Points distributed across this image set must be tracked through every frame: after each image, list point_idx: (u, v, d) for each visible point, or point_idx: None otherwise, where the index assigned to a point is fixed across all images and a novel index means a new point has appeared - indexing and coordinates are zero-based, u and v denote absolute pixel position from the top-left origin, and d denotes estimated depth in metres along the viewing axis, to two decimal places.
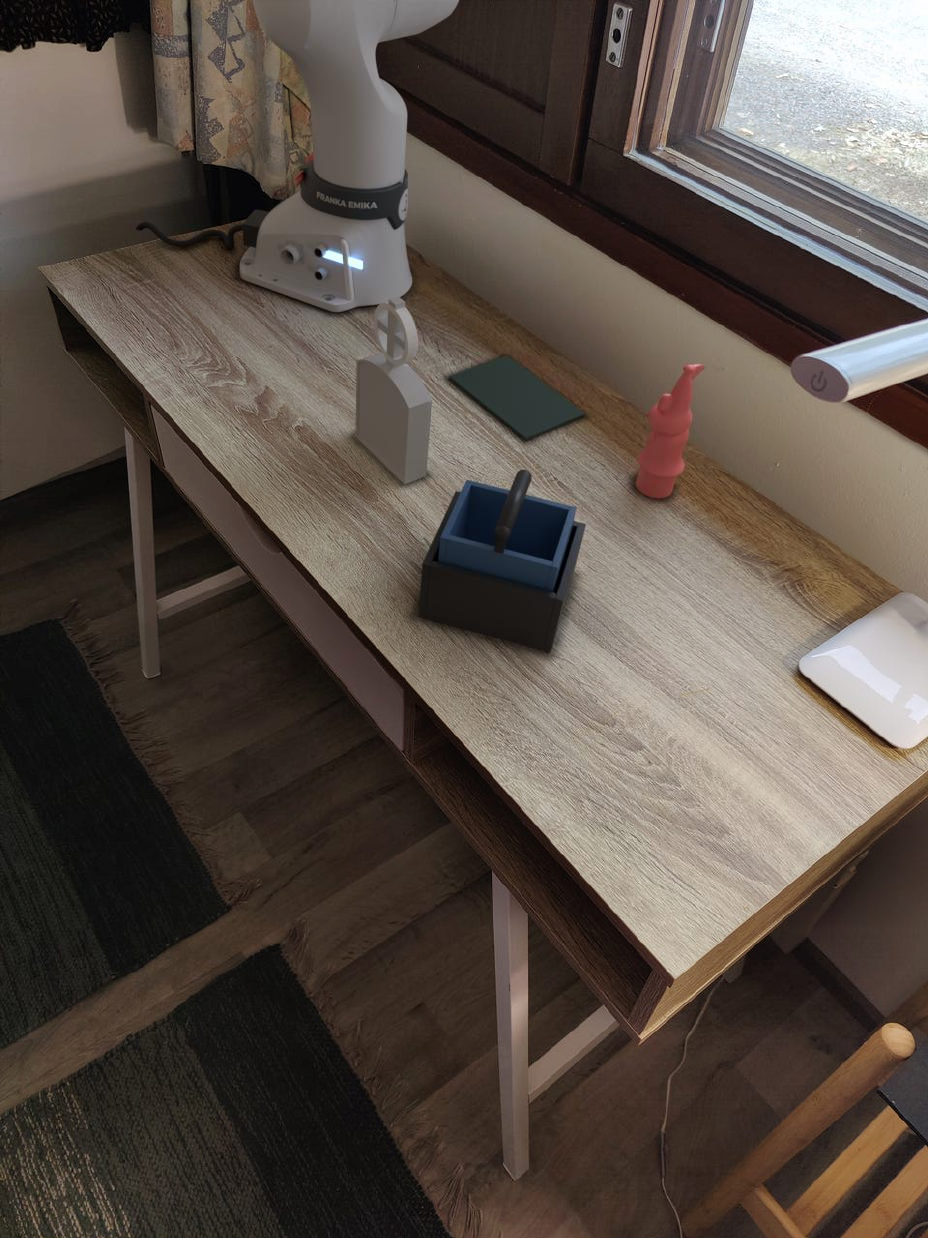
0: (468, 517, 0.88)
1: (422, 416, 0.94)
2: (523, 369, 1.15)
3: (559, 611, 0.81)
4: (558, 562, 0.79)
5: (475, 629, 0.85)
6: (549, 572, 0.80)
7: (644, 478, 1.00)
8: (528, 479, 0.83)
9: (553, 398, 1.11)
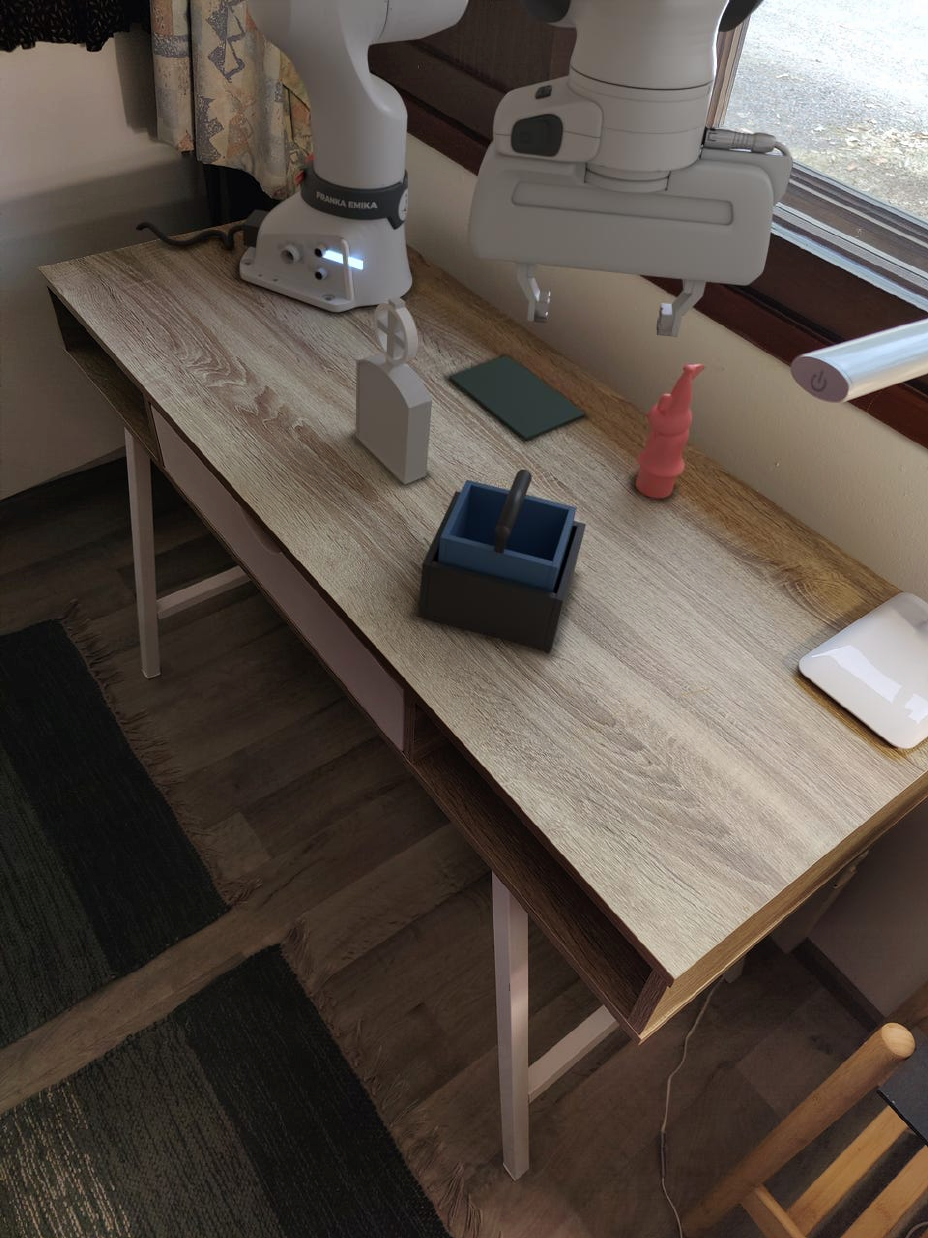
0: (468, 517, 0.88)
1: (422, 416, 0.94)
2: (523, 369, 1.15)
3: (559, 611, 0.81)
4: (558, 562, 0.79)
5: (475, 629, 0.85)
6: (549, 572, 0.80)
7: (644, 478, 1.00)
8: (528, 479, 0.83)
9: (553, 398, 1.11)
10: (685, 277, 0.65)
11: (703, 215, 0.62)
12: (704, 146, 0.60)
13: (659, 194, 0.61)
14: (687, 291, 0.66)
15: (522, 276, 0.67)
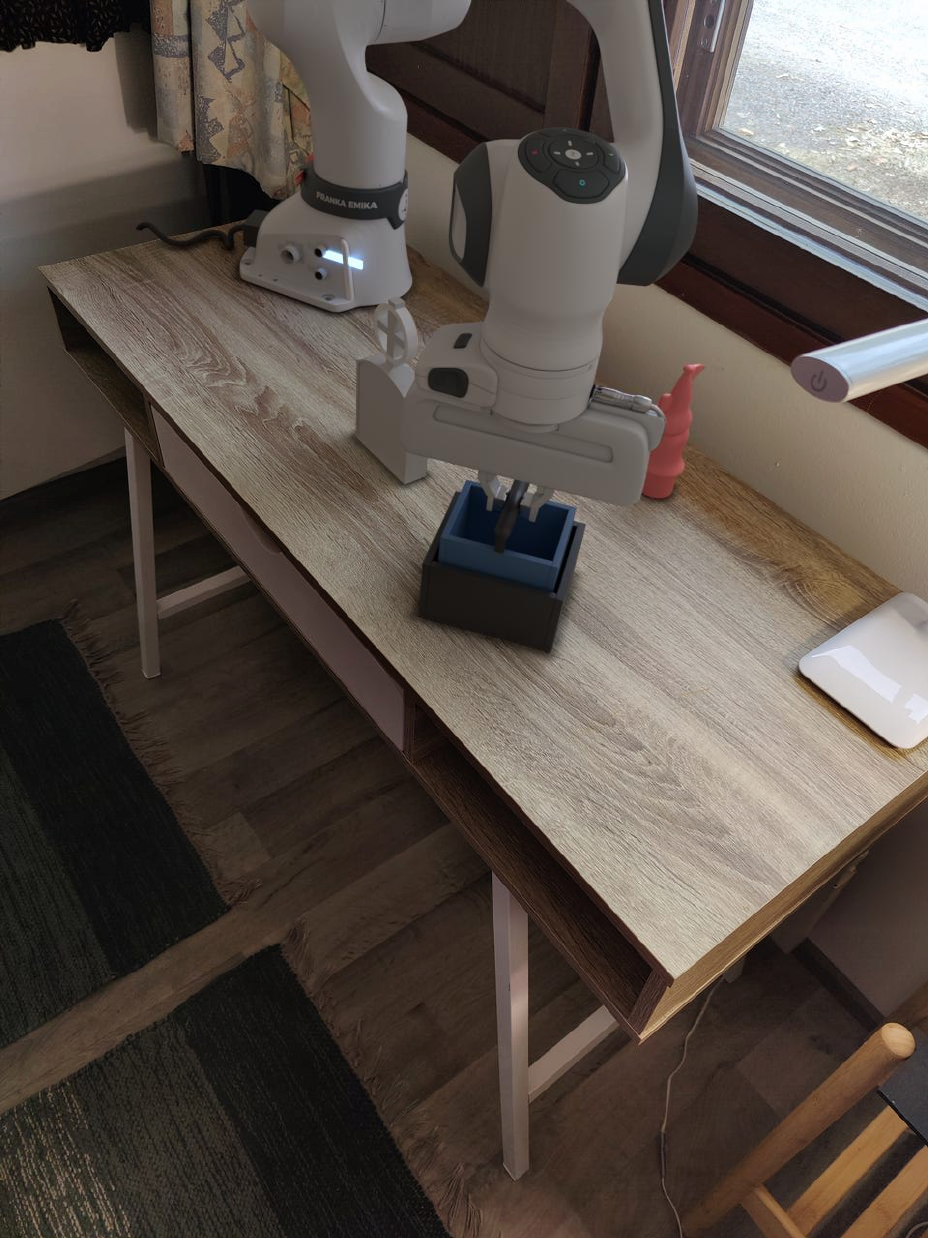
0: (468, 517, 0.88)
1: None
2: None
3: (559, 611, 0.81)
4: (558, 562, 0.79)
5: (475, 629, 0.85)
6: (549, 572, 0.80)
7: None
8: None
9: None
10: (575, 494, 0.76)
11: (589, 452, 0.73)
12: (592, 400, 0.71)
13: (552, 432, 0.73)
14: (540, 492, 0.78)
15: (482, 479, 0.79)
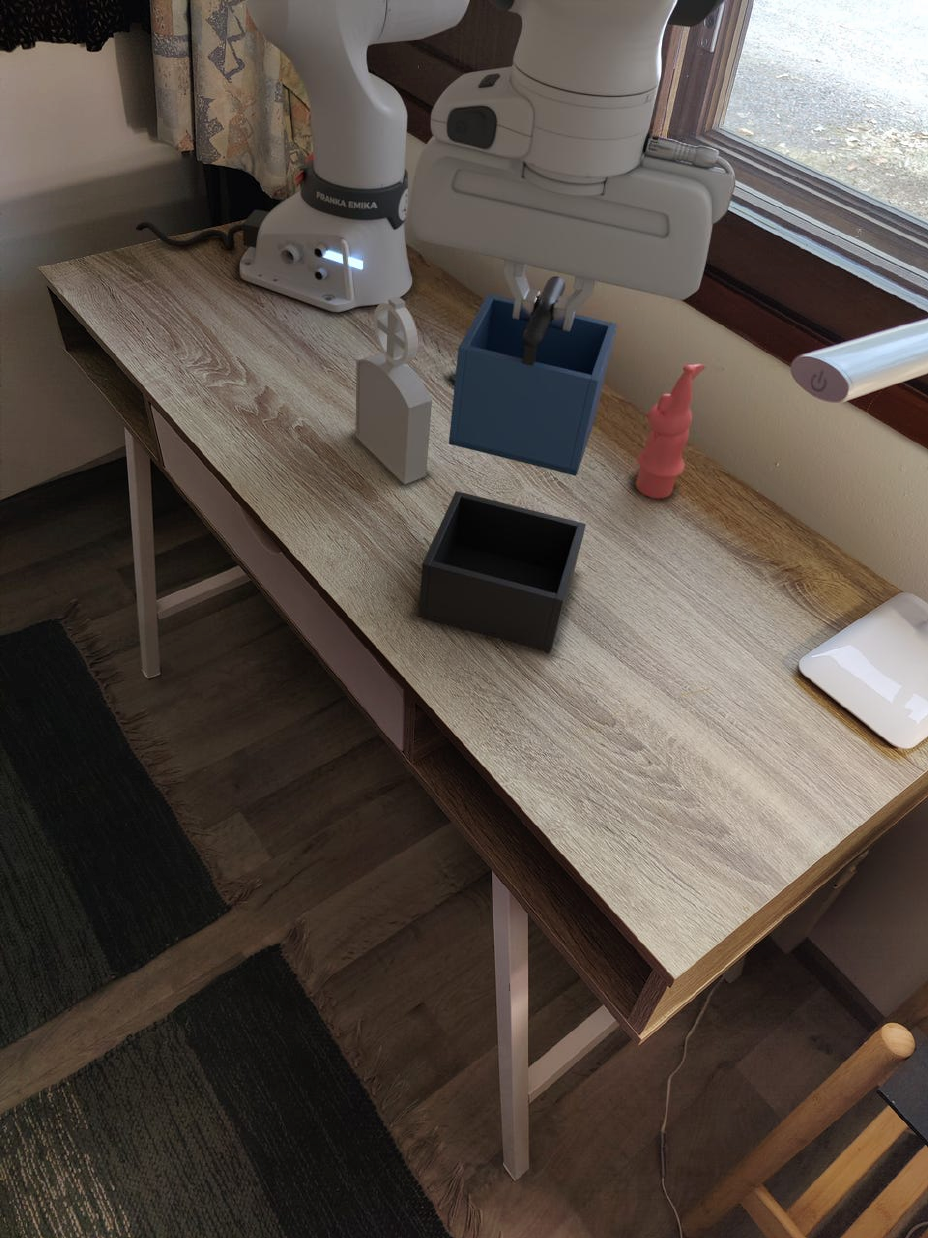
0: (489, 343, 0.76)
1: (422, 416, 0.94)
2: None
3: (559, 611, 0.81)
4: (598, 376, 0.67)
5: (475, 629, 0.85)
6: (587, 388, 0.67)
7: (644, 478, 1.00)
8: (561, 286, 0.70)
9: None
10: (621, 285, 0.64)
11: (640, 225, 0.61)
12: (646, 154, 0.59)
13: (596, 198, 0.60)
14: (577, 288, 0.65)
15: (509, 273, 0.66)
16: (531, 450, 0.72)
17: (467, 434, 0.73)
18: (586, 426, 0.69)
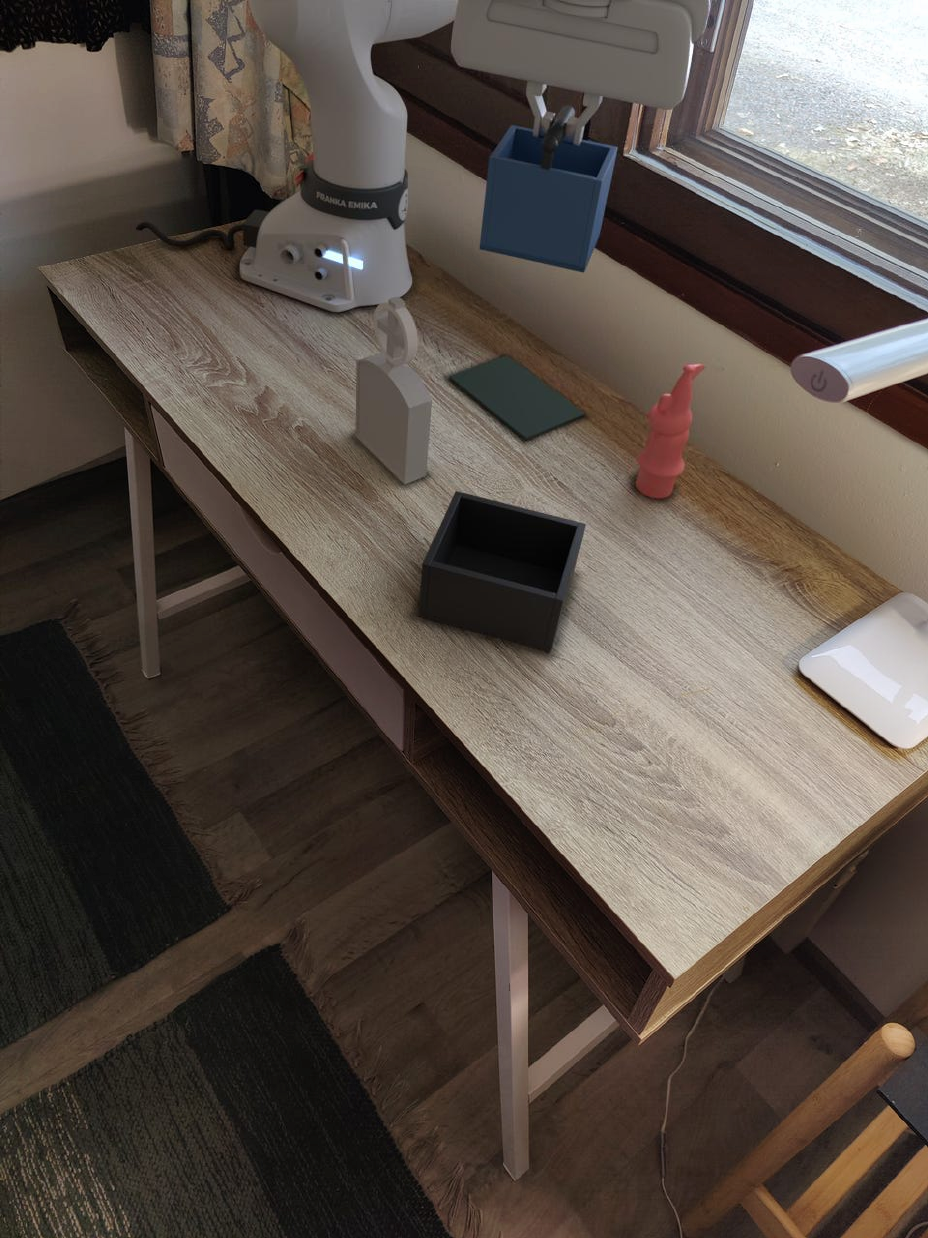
0: None
1: (422, 416, 0.94)
2: (523, 369, 1.15)
3: (559, 611, 0.81)
4: (602, 178, 0.83)
5: (475, 629, 0.85)
6: (593, 188, 0.83)
7: (644, 478, 1.00)
8: (572, 112, 0.86)
9: (553, 398, 1.11)
10: (620, 98, 0.80)
11: (635, 43, 0.77)
12: None
13: (601, 21, 0.76)
14: (585, 104, 0.82)
15: (531, 94, 0.82)
16: (547, 250, 0.88)
17: (495, 238, 0.89)
18: (592, 224, 0.86)
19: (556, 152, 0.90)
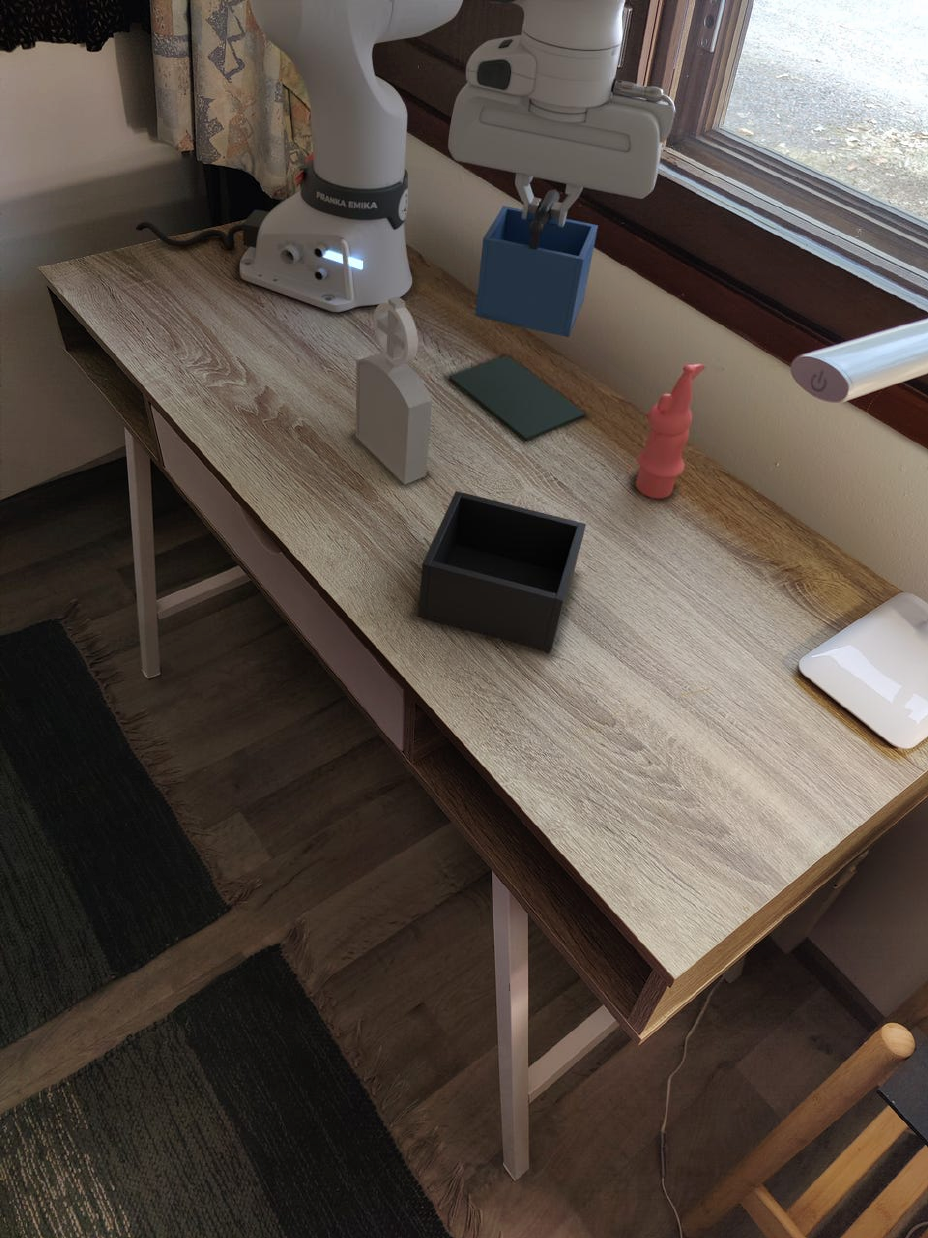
0: None
1: (422, 416, 0.94)
2: (523, 369, 1.15)
3: (559, 611, 0.81)
4: (583, 256, 0.94)
5: (475, 629, 0.85)
6: (576, 265, 0.94)
7: (644, 478, 1.00)
8: (557, 196, 0.97)
9: (553, 398, 1.11)
10: (598, 188, 0.91)
11: (610, 143, 0.88)
12: (613, 93, 0.86)
13: (579, 124, 0.87)
14: (568, 192, 0.92)
15: (519, 184, 0.93)
16: (536, 318, 0.99)
17: (489, 307, 1.00)
18: (575, 296, 0.96)
19: (543, 230, 1.00)
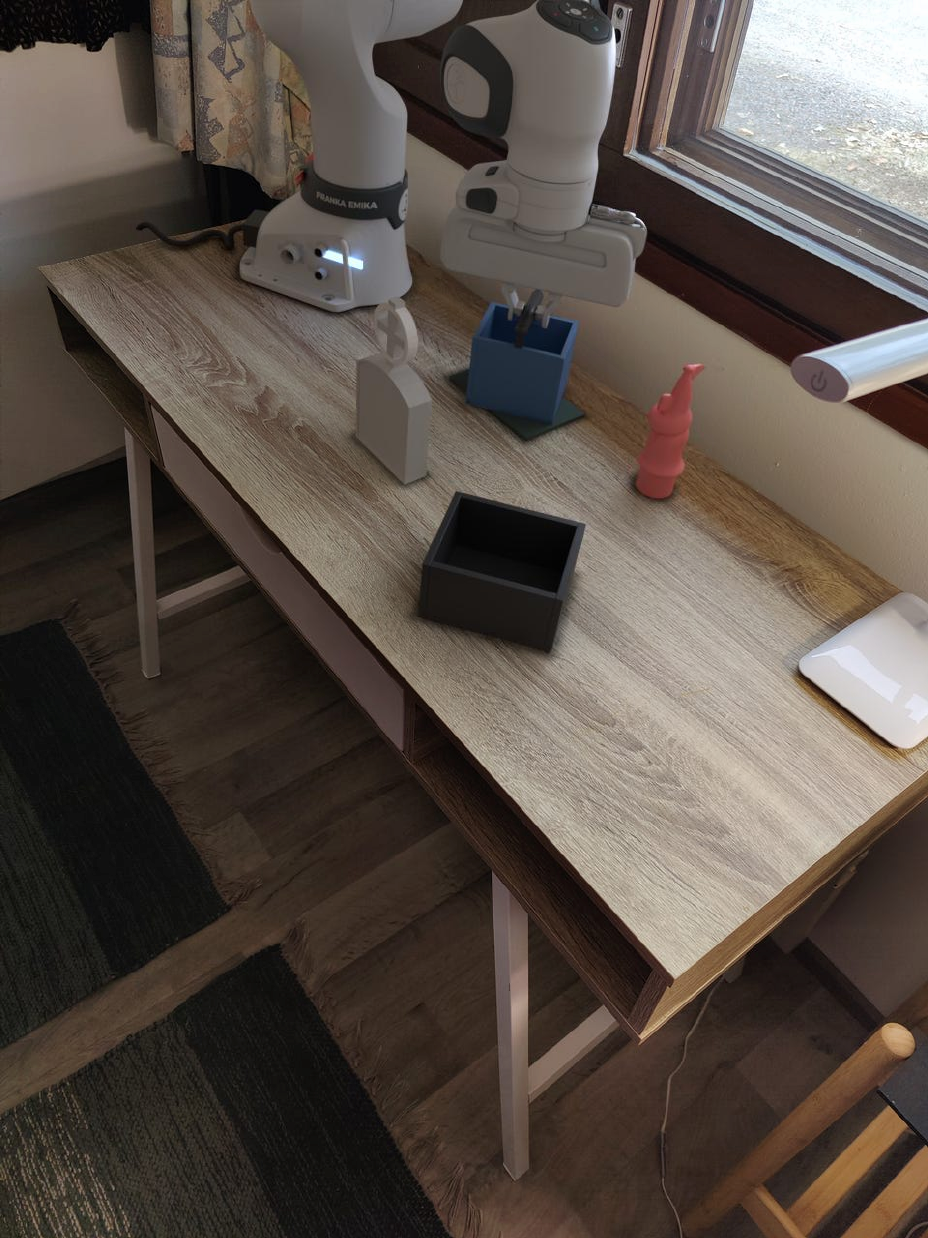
0: (492, 335, 1.10)
1: (422, 416, 0.94)
2: None
3: (559, 611, 0.81)
4: (564, 355, 1.02)
5: (475, 629, 0.85)
6: (557, 363, 1.02)
7: (644, 478, 1.00)
8: (541, 296, 1.05)
9: None
10: (577, 297, 0.99)
11: (588, 259, 0.96)
12: (590, 216, 0.94)
13: (560, 243, 0.95)
14: (550, 299, 1.00)
15: (505, 290, 1.01)
16: (521, 407, 1.07)
17: (478, 396, 1.08)
18: (557, 389, 1.04)
19: None
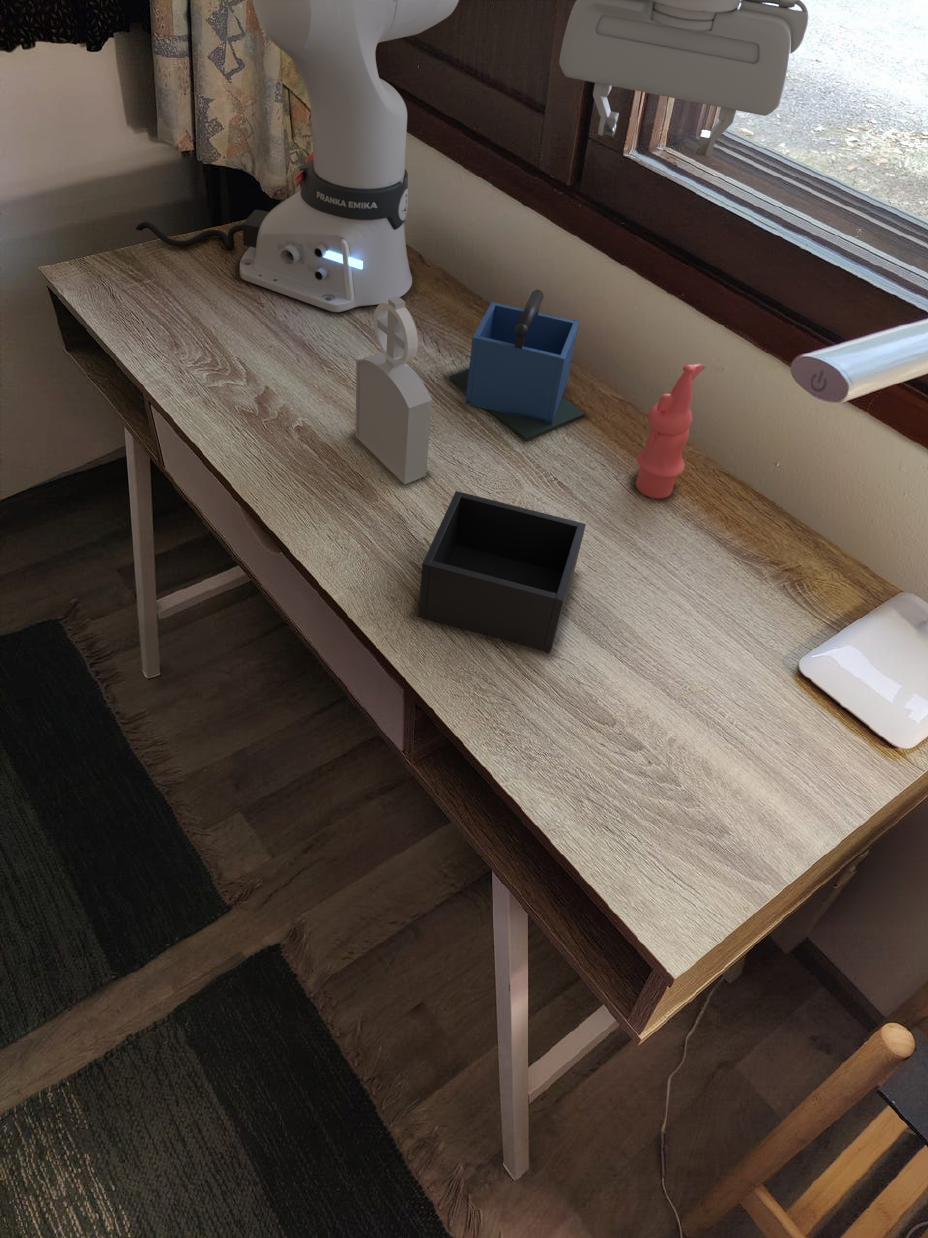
0: (492, 335, 1.10)
1: (422, 416, 0.94)
2: None
3: (559, 611, 0.81)
4: (564, 355, 1.02)
5: (475, 629, 0.85)
6: (557, 363, 1.02)
7: (644, 478, 1.00)
8: (541, 296, 1.05)
9: None
10: (720, 105, 0.85)
11: (737, 54, 0.83)
12: None
13: (705, 33, 0.82)
14: (721, 118, 0.87)
15: (597, 95, 0.88)
16: (521, 407, 1.07)
17: (478, 396, 1.08)
18: (557, 389, 1.04)
19: None
